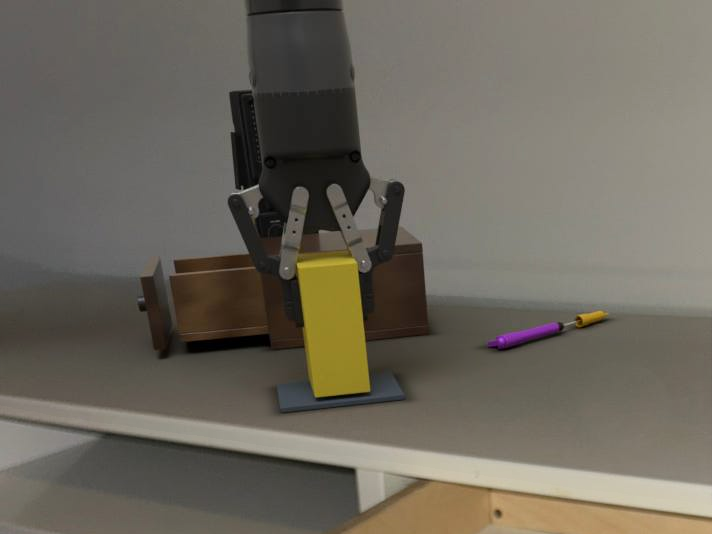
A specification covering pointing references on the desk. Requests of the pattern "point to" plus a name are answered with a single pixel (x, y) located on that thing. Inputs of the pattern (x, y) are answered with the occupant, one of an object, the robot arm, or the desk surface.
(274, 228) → the portable radio
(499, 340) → the purple soldering iron
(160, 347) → the drawer
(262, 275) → the cabinet
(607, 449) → the desk surface
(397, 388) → the mat
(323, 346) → the block
